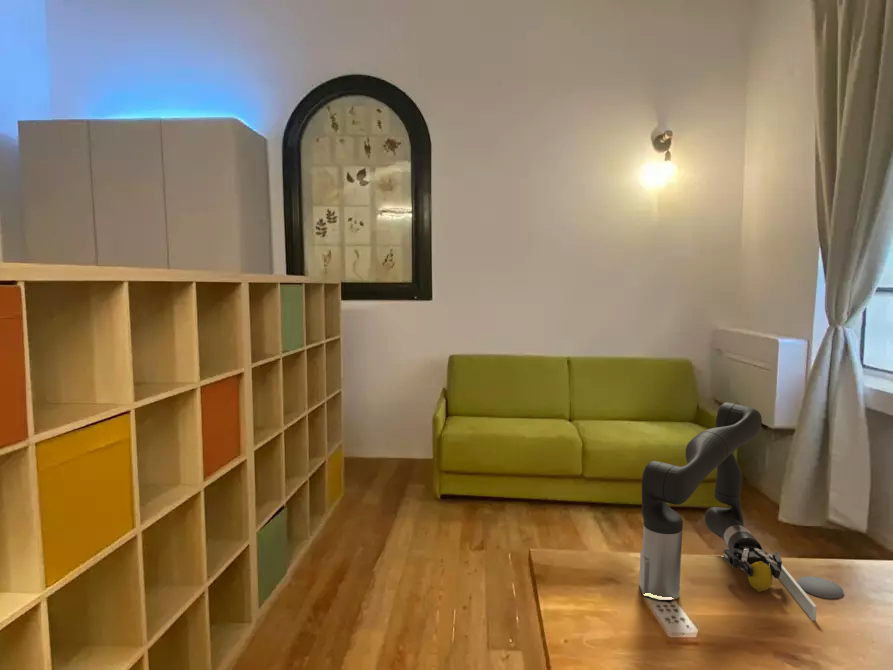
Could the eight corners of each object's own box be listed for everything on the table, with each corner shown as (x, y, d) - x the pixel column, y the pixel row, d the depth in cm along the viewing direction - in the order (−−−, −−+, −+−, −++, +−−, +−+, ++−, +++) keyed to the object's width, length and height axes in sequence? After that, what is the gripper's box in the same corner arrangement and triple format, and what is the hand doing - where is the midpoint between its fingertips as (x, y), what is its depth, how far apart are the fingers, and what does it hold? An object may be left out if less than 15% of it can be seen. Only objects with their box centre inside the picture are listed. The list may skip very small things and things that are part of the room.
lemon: (774, 598, 155) (776, 567, 154) (750, 596, 156) (752, 565, 155) (767, 587, 160) (769, 557, 159) (744, 585, 161) (746, 555, 160)
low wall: (812, 620, 145) (813, 606, 145) (773, 570, 169) (774, 558, 168) (815, 620, 145) (816, 606, 144) (776, 571, 168) (777, 558, 168)
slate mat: (807, 597, 155) (807, 594, 155) (791, 577, 165) (791, 575, 165) (850, 600, 154) (850, 597, 154) (831, 579, 164) (831, 577, 164)
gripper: (715, 529, 172) (734, 557, 155) (770, 532, 170) (796, 561, 153) (713, 555, 173) (733, 586, 156) (768, 558, 171) (794, 590, 154)
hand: (764, 573), depth 155 cm, fingers closed on lemon, 5 cm apart
